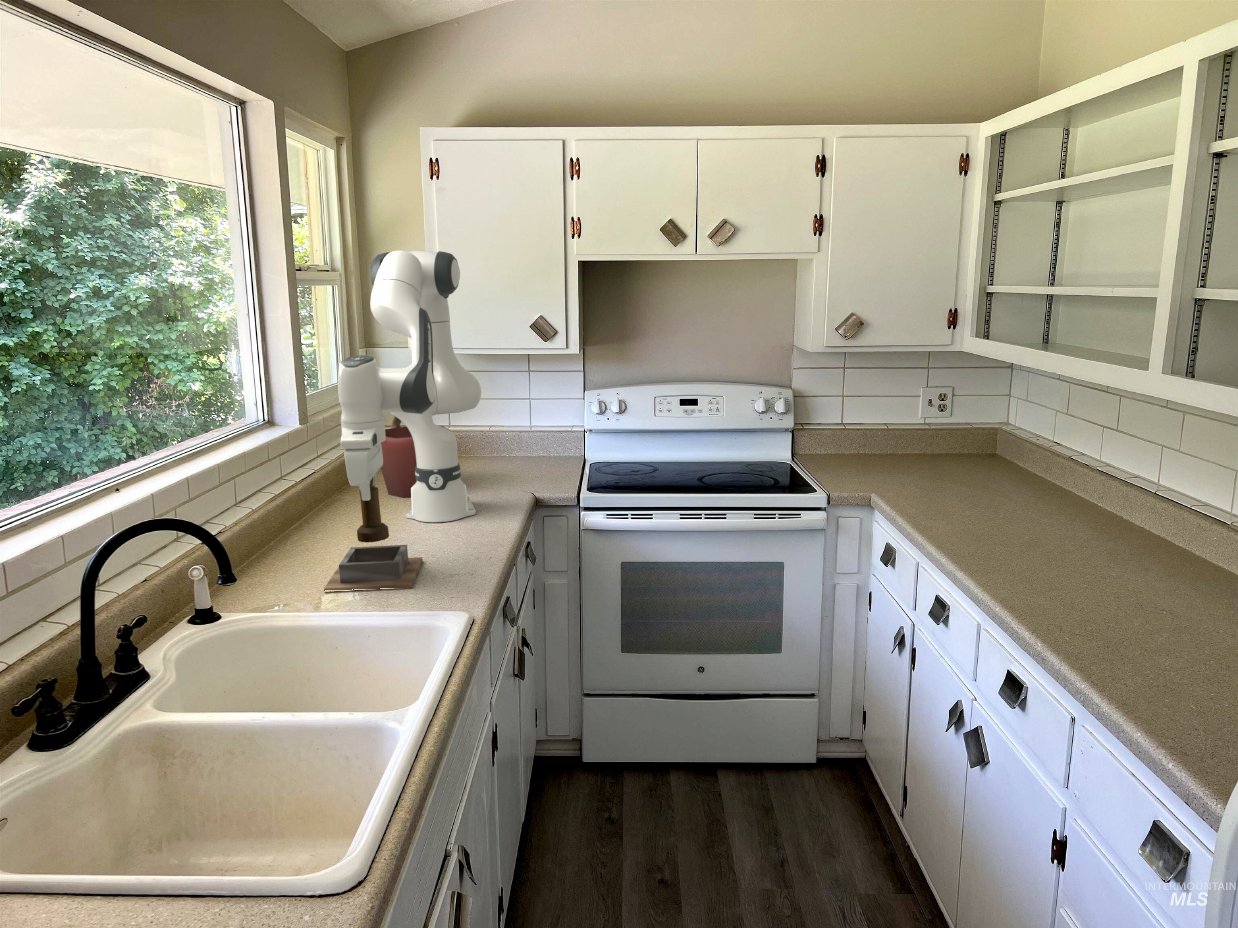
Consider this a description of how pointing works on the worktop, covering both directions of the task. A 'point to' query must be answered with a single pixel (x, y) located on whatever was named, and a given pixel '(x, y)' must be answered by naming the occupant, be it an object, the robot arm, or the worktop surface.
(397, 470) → the bucket
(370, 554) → the holder board
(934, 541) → the worktop surface
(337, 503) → the worktop surface
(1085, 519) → the worktop surface
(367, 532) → the wooden pepper mill
